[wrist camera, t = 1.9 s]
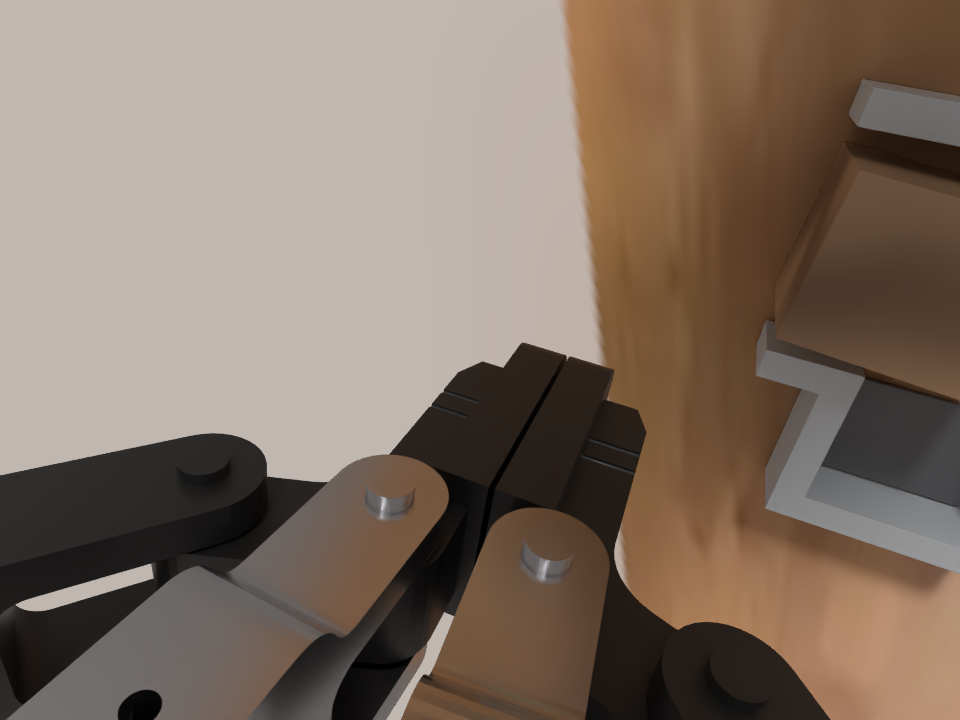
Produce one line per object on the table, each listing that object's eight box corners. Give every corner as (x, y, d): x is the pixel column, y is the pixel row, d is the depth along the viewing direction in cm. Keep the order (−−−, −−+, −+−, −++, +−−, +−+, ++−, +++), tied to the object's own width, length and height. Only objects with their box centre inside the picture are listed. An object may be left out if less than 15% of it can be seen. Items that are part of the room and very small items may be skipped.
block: (843, 140, 21) (859, 170, 17) (1094, 208, 19) (1172, 257, 15) (774, 284, 23) (775, 338, 20) (990, 354, 22) (1036, 426, 18)
